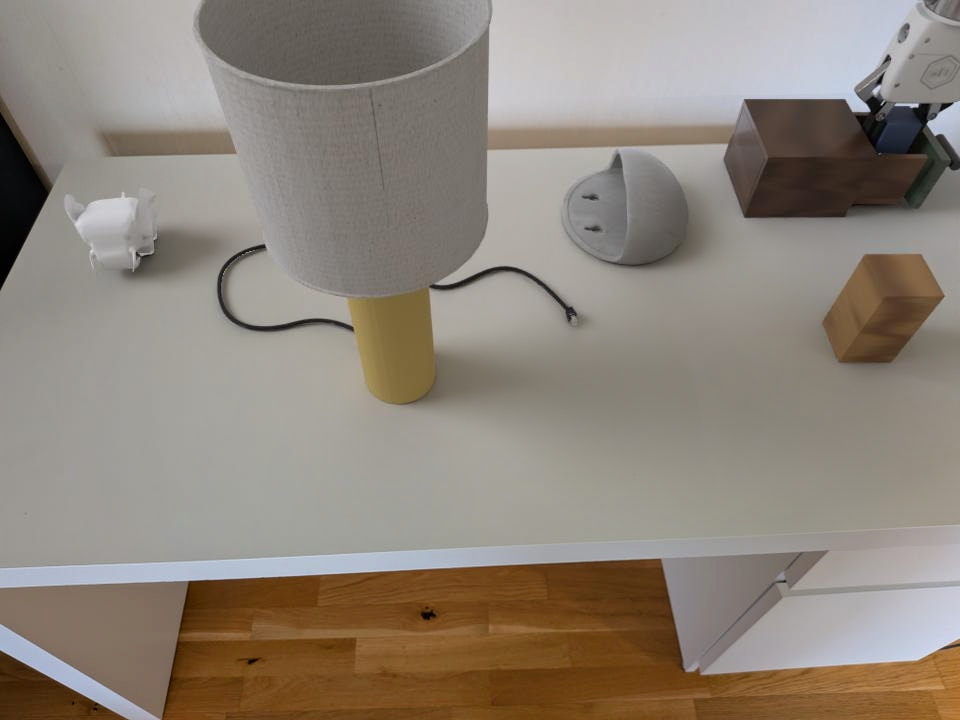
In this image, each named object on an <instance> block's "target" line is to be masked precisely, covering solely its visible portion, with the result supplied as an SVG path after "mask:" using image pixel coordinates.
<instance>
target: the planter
mask: <svg viewBox="0 0 960 720" xmlns="http://www.w3.org/2000/svg"><path fill="white" fill-rule="evenodd" d="M591 198H596V199H598V200H592V199H591ZM561 219H562V224H563V227H564V230H565V231H566V233H567V235H568V236H569V238H570V239H571V240H572V241H573V242H574V243H575V244H576V245H577V246H578V247H579V248H581V249H582V250H583V251H584V252H586V253H587V254H589V255H591V256H593V257H595V258H596V259H598V260H603V261H605V262H609V263H612V264H618V265H619V264H620V265H627V266H631V265H633V266H634V265H636V266H637V265H645V264H649V263H653V262H656V261H659V260H661V259H664V258H665V257H667V256H669V255H670V254H671V253H673V252H674V251H675V250H676V249H677V248H678V247H679V245H680V244H681V242H682V241H683V239H684V236H685V235H686V231H687V229H688V224H689V207H688V201H687V198H686V196H685V192H684V190H683V188H682V185H681V184H680V182H679V181H678V179H677V177H676V176H675V174H674V173H673V172H672V170H671V169H670V168H669V166H667V164H665V163H664V162H663V161H662V160H661V159H660V158H658V157H657V156H656V155H653V154H652V153H650V152H648V151H646V150H644V149H640V148H636V147H629V146H622V147H617V148H616V149H615V150H614V151H613V153H612V156H611V159H610V161H609V164H608V165H606V167H604V168H602V169H600V170H597V171H594V172H592V173H589V174H586V175H584V176H582V177H580V178H579V179H578V180H576V181H575V182H574V183H573V184H572V185H571V186H569V188H568V190H567V191H566V193H565V195H564V198H563V201H562V208H561ZM593 230H600V231H601V232H595V231H593Z"/></svg>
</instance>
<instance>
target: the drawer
mask: <svg viewBox="0 0 960 720" xmlns="http://www.w3.org/2000/svg"><path fill="white" fill-rule="evenodd" d="M911 109H913V107H911ZM852 112H853V114H854V115H855V117H856V119H857V120H858V122H859V124H860V126H861V127H862V126H863V124H864V122H865V120H866V118H867V116H868V114H869V112H870V111H852ZM877 155H878V156H879V158H878V160H877V161H876V162H875V165H874V166H873V168H872V170H871V172H870V174H869V175H868V177H867V179H866V181H865V182H864V184H863V186H862V188H861V190H860V191H859V193H858V195H857V197H856V198H855V200H854V202H853V204H852V205H856V204H857V205H871V204H872V205H878V204H881V205H886V204H887V205H890V204H891V205H892V204H895V205H898V204H901V202H902V200H903V199H904V201H905V203H906V204H907V206H908V207H909V209H910V210H919V209H920V208H921V206H922V205H923V203H924V202H925V200H926V199H927V198H928V196H929V195H930V193H931V191H932V190H933V188H934V187H935V186H936V184H937V182H938V181H939V179H941V177H942V175H943V173H945V171H946V169H947V168H949V170H950V171H953V172H954V171H958V170H960V156H959V154H958V153H957V152H956V150H955V148H954V147H953V146H952V144H951V143H950V141H949V140H948V138H947V137H946V136H945V134H943V133H939V134H936V135H935V134H934V132H933V131H932V130H931V128H930V127H929V125H928V123H927V124H926V126H925V128H924V129H923V131H922V133H921V134H920V136H919V137H918V138H917V140H916V142H915V143H914V145H913V147H912V148H908V150H907V152H906V153H877Z"/></svg>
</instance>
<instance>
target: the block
mask: <svg viewBox="0 0 960 720" xmlns="http://www.w3.org/2000/svg"><path fill="white" fill-rule="evenodd" d="M911 108H912V107H911V106H910V105H895V106H894V107H893V108H892V110H891V111H890V112H889V113H888V115H887V116H886V117H885V119H886V121H887V124H886V126H885V127H884V129H883V131H882V133H881V135H880V137H879V138H878V140H877V142H876V144H875V146H874V147H873V148H874V150H875V151H876V153H879V154H881V153H906V152H907V150H908V148H909V147H910V145H911V143H912V142H913V140H914V138H915V137H916V135H917V133H918V132H919V130H920V128H921V127H922V124H921V122H920V121H919V119H918V118H917V116H916V115H915V113H914V112H913V110H912V109H911Z"/></svg>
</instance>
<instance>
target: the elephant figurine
mask: <svg viewBox="0 0 960 720" xmlns="http://www.w3.org/2000/svg"><path fill="white" fill-rule="evenodd" d="M138 194H139V195H138V198H136V197H130V196H129V197H127V196H126V192H125V191H122V192H121V197H114V198H105V199H97V200H94V201H92V202H90V203H89V204H87V206H86V207H85V206H84V205H83V204H82V203H80V202H77V201H76V199H75V197H74V195H72V194H69V193H68V194H65V196H64V199H63V206H64V209H65V212H66V214H67V215H68V218H69V219H70V220H71V222H72V224H73V225H74V228H75V229H76V231H77V233H78V235H79V236H80V237H81V238H82V241H83V242H84V243H85V244H87V245H88V246H90V248H91V250H90V251H89V254H88V256H89V262H90V264H91V267H92V269H93V271H94V273H95V275H96V276H97V275H98V271H97V268H96V264H95V259H97V262H98V265H99V266H100V267H101V268H102V269H104V270H106V271H115V270H124V269H125V270H126V269H130V270H131V269H132V273H133V272H135V269H137V268H138V267H139V265H140V262H141V256H137V253H136V252H139V253H150V252H151V251H153V249H154V246H155V241H153V237H155V235H156V234H157V231H158V227H157V219H158V208H157V205H156V201H155V199H156V197H157V194H156V193H154V192H152V191H151V190H150V189H148V188H144V187H141V188H140V189H139V192H138Z"/></svg>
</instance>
